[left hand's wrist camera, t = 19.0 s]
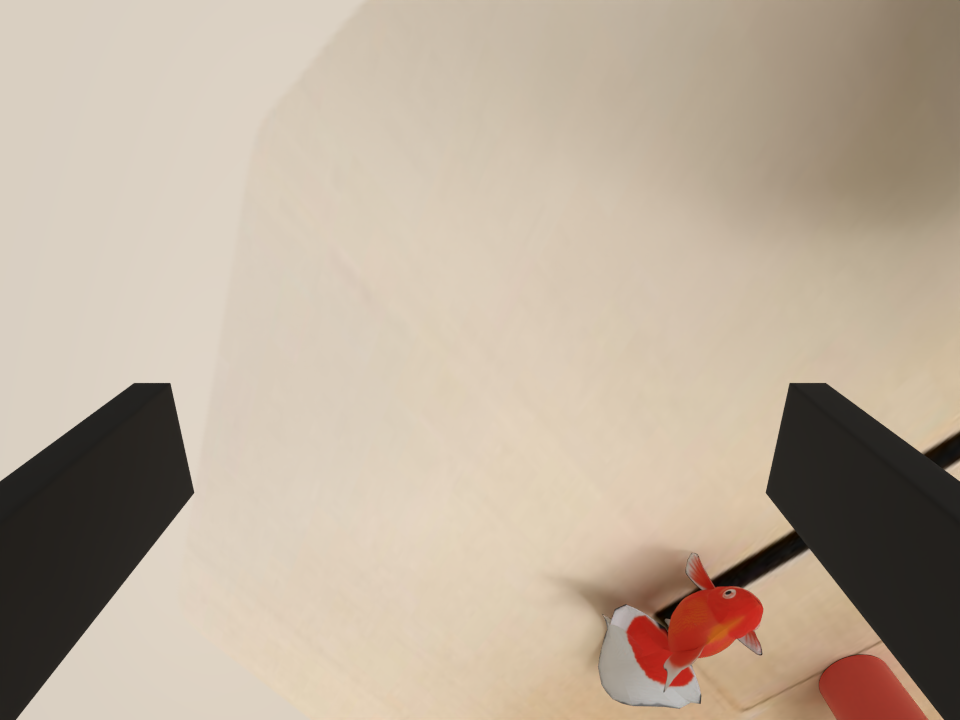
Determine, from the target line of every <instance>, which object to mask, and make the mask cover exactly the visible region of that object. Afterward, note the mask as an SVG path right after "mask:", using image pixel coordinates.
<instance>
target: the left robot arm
mask: <svg viewBox="0 0 960 720" xmlns="http://www.w3.org/2000/svg"><path fill="white" fill-rule="evenodd" d="M193 494H194V490H193V485H192V480H191V476H190V471H189V467H188V462H187V457H186V453H185V448H184V444H183V439H182V434H181V430H180V425H179V421H178V416H177V412H176V407H175V402H174V398H173V393H172V389H171V384H170V383H134V384H132V385H131V386H130V387H128V388H127V389H126V390H124V391H123V392H121V393H120V394H119V395H117V396H116V397H115V398H113V399H112V400H111V401H109V402H108V403H106V404H105V405H104V406H102V407H101V408H100V409H98V410H97V411H96V412H94V413H93V414H91V415H90V416H89V417H87V418H86V419H85V420H83V421H82V422H81V423H79V424H78V425H77V426H75V427H74V428H72V429H71V430H70V431H68V432H67V433H66V434H64V435H63V436H61V437H60V438H59V439H57V440H56V441H55V442H53V443H52V444H51V445H49V446H48V447H47V448H45V449H44V450H42V451H41V452H40V453H38V454H37V455H36V456H34V457H33V458H31V459H30V460H29V461H27V462H26V463H25V464H23V465H22V466H21V467H19V468H18V469H16V470H15V471H14V472H12V473H11V474H10V475H8V476H7V477H6V478H4V479H3V480H1V481H0V720H16V719H17V718H18V716H19V715H20V714H21V712H22V711H23V710H24V709H25V707H26V706H27V705H28V704H29V702H30V701H31V700H32V699H33V697H34V696H35V695H36V693H37V692H38V691H39V690H40V688H41V687H42V686H43V685H44V683H45V682H46V681H47V679H48V678H49V677H50V676H51V674H52V673H53V672H54V670H55V669H56V668H57V667H58V665H59V664H60V663H61V662H62V660H63V659H64V658H65V657H66V655H67V654H68V653H69V651H70V650H71V649H72V648H73V646H74V645H75V644H76V642H77V641H78V640H79V639H80V637H81V636H82V635H83V634H84V632H85V631H86V630H87V629H88V627H89V626H90V625H91V623H92V622H93V621H94V620H95V618H96V617H97V616H98V615H99V613H100V612H101V611H102V609H103V608H104V607H105V606H106V604H107V603H108V602H109V600H110V599H111V598H112V597H113V595H114V594H115V593H116V592H117V590H118V589H119V588H120V587H121V585H122V584H123V583H124V581H125V580H126V579H127V578H128V576H129V575H130V574H131V573H132V571H133V570H134V569H135V568H136V566H137V565H138V564H139V562H140V561H141V560H142V559H143V557H144V556H145V555H146V554H147V552H148V551H149V550H150V548H151V547H152V546H153V545H154V543H155V542H156V541H157V540H158V538H159V537H160V536H161V534H162V533H163V532H164V531H165V529H166V528H167V527H168V526H169V524H170V523H171V522H172V520H173V519H174V518H175V517H176V515H177V514H178V513H179V512H180V510H181V509H182V508H183V506H184V505H185V504H186V503H187V501H188V500H189V499H190V498H191V496H192V495H193ZM766 494H767V495H768V496H769V498H770V499H771V500H772V501H773V503H774V504H775V505H776V506H777V508H778V509H779V510H780V512H781V513H782V514H783V515H784V517H785V518H786V519H787V520H788V522H789V523H790V524H791V526H792V527H793V528H794V529H795V531H796V532H797V533H798V534H799V536H800V537H801V538H802V540H803V541H804V542H805V543H806V545H807V546H808V547H809V548H810V550H811V551H812V552H813V554H814V555H815V556H816V557H817V559H818V560H819V561H820V562H821V564H822V565H823V566H824V568H825V569H826V570H827V571H828V573H829V574H830V575H831V576H832V578H833V579H834V580H835V582H836V583H837V584H838V585H839V587H840V588H841V589H842V590H843V592H844V593H845V594H846V595H847V597H848V598H849V599H850V601H851V602H852V603H853V604H854V606H855V607H856V608H857V609H858V611H859V612H860V613H861V615H862V616H863V617H864V618H865V620H866V621H867V622H868V623H869V625H870V626H871V627H872V629H873V630H874V631H875V632H876V634H877V635H878V636H879V637H880V639H881V640H882V641H883V643H884V644H885V645H886V646H887V648H888V649H889V650H890V651H891V653H892V654H893V655H894V657H895V658H896V659H897V660H898V662H899V663H900V664H901V665H902V667H903V668H904V669H905V671H906V672H907V673H908V674H909V676H910V677H911V678H912V679H913V681H914V682H915V683H916V685H917V686H918V687H919V688H920V690H921V691H922V692H923V693H924V695H925V696H926V697H927V699H928V700H929V701H930V702H931V704H932V705H933V706H934V707H935V709H936V710H937V711H938V713H939V714H940V715H941V716H942V718H943V719H944V720H960V481H959V480H957V479H956V478H954V477H953V476H952V475H950V474H949V473H948V472H946V471H945V470H944V469H942V468H941V467H939V466H938V465H937V464H935V463H934V462H933V461H931V460H930V459H929V458H927V457H926V456H924V455H923V454H922V453H920V452H919V451H918V450H916V449H915V448H914V447H912V446H911V445H909V444H908V443H907V442H905V441H904V440H903V439H901V438H900V437H899V436H897V435H896V434H894V433H893V432H892V431H890V430H889V429H888V428H886V427H885V426H884V425H882V424H881V423H879V422H878V421H877V420H875V419H874V418H873V417H871V416H870V415H869V414H867V413H866V412H864V411H863V410H862V409H860V408H859V407H858V406H856V405H855V404H854V403H852V402H851V401H849V400H848V399H847V398H845V397H844V396H843V395H841V394H840V393H839V392H837V391H836V390H834V389H833V388H832V387H830V386H829V385H828V384H826V383H790V384H789V389H788V393H787V398H786V402H785V407H784V412H783V416H782V421H781V425H780V430H779V434H778V439H777V444H776V448H775V453H774V457H773V462H772V467H771V471H770V476H769V480H768V485H767V490H766Z"/></svg>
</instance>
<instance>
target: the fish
mask: <svg viewBox="0 0 960 720" xmlns="http://www.w3.org/2000/svg"><path fill="white" fill-rule="evenodd" d="M686 574H687V576H688V577H689V578H690V579H691V581H692V582H693V583H694V584H695V585H696V586H697V587H699V588H700V589H701V591H698V592H696V593H693V594H691V595H689V596H687V597H686V598H684V599H683V600H682V601H681V602H680V604H679V605H678V606H677V608H676V609H675V611H674V612H673V614H672V616H671V619H665V622H666V623H667V624H668V626H669V630H668V632H667V630H666V629H665V627H663V626H662V625H660V624H659V623H658V622H656V621H655V620H654V619H652V618H651V617H649V616H648V615H647V614H645V613H643V612H641V611H639V610H638V609H635V608H633V607H631V606H629V605H626V604H625V605H623V606H621V607H619V608H617V609H615V610H614V614H613V617H612V620H611V619H610V618H609V617H607V616H605V615H603V614H602V615H603V616H604V618H605V620H606V624H607V632H606V635H605V637H604V641H603V645H602V649H601V653H600V657H599V664H598V669H599V674H600V679H601V684H602V686H603V688H604V689H605V691H606V692H607V693H608V694H609V695H610V696H611V698H612V699H614V700H616V701H618V702H620V703H623V704H627V705H631V706H658V707H671V708H678V709H680V708H682V707H683V706H685V705H687V704H689V703H699V704H701V692H700V688H699V684H698V681H697V678H696V676H695V673H694V670H693V668H692V664H693V663H694V662H695V660H696V659H697V658H703V657H708V656H712V655H714V654H717V653H719V652H721V651H722V650H724V649H725V648H727V647H728V646H730V645H731V644H732V643H733V641H734V640H735V639H738V640H739V641H740V642H741V643H743V644H744V645H745V646H747V647H748V648H749V649H750V650H752V651H753V652H755V653H756V654H758V655H762V649H761V645H760V642H759V641H758V639H757V636H756V634H755V632H754V630H756V629H757V628H758V627H759V625H760V621H761V618H762V614H763V606H762V604H761V602H760V600H759V599H758V598H757V597H756V596H755V595H754V594H752V593H751V592H749V591H747V590H745V589H743V588H740V587H734V586H729V587H716V588H715V586H714V585H713V583H712V581H711V580H710V578H709V577H708V575H707V573H706V571H705V569H704V567H703V566H702V563H701V561H700V559H699V556H698V555H697V554H696V553H691V555H690V557H689V558H688V561H687V565H686Z"/></svg>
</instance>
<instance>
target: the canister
mask: <svg viewBox="0 0 960 720" xmlns="http://www.w3.org/2000/svg"><path fill="white" fill-rule="evenodd" d="M819 689H820V692H821V694H822V696H823V697H824V699H825V701H826V702H827V704H828V706H829V707H830V709H831V711H832V712H833V714H834V716H835V717H836V719H837V720H928V718H927V717H926V716H925V715H924V713H923V712H922V711H921V709H920V708H919V707H918V705H917V704H916V703H915V701H914V700H913V699H912V697H911V696H910V695H909V693H908V692H907V691H906V690H905V688H904V687H903V686H902V684H901V683H900V682H899V680H898V679H897V678H896V676H895V675H894V674H893V672H892V671H891V670H890V668H889V667H888V666H887V665H886V663H885V662H883V661H882V660H881V659H879V658H877V657H874V656H870V655H854V656H850V657H846V658H843V659H841V660H839V661H837V662H835V663H834V664H832V665H831V666H830V667H828V668H827V669H826V670H825V672H824V673H823V674H822V676H821V678H820V682H819Z"/></svg>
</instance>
